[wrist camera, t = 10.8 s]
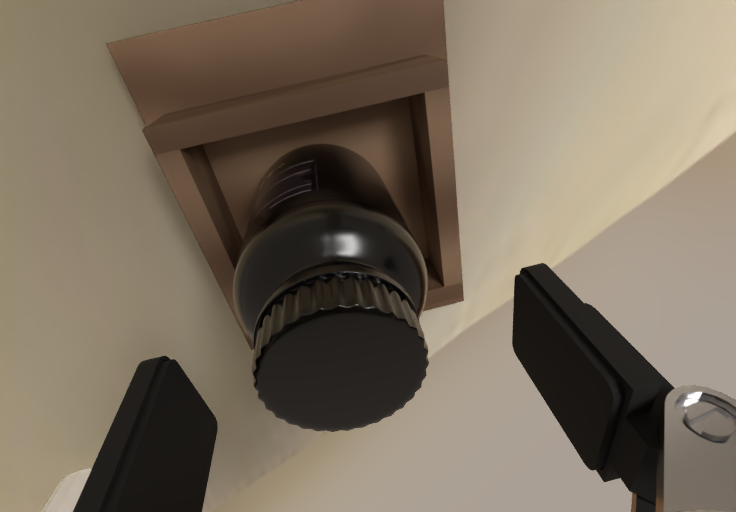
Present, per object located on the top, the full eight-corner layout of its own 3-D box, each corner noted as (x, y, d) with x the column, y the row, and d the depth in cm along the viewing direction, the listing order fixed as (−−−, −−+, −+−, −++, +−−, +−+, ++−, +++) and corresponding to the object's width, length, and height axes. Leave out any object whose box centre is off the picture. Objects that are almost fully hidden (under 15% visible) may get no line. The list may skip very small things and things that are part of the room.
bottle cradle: (115, 42, 16) (68, 47, 13) (433, -29, 17) (467, -41, 13) (258, 341, 26) (252, 389, 23) (458, 291, 26) (481, 331, 23)
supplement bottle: (410, 200, 21) (514, 363, 11) (325, 278, 23) (346, 481, 13) (318, 107, 18) (343, 215, 8) (227, 206, 20) (152, 399, 10)
